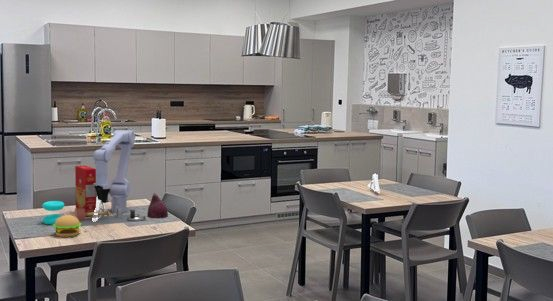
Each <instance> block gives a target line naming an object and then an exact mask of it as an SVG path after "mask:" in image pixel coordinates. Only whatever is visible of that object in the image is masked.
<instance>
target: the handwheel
mask: <svg viewBox="0 0 553 301" xmlns="http://www.w3.org/2000/svg"><path fill="white" fill-rule="evenodd" d="M129 213H130V216H127V220H128V221H137V222H143V221H142V220H145V219H146V215H143V214H139V215H135V214H136V210H135V209H130V210H129Z"/></svg>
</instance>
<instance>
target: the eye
mask: <svg viewBox="0 0 553 301" xmlns="http://www.w3.org/2000/svg"><path fill="white" fill-rule="evenodd" d="M122 215H123V213H122V207H121V206H119V205H117V206H116V213H115V214H114V216H115V217H116V218H117V219H119V218H123V216H122Z"/></svg>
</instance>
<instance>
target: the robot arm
mask: <svg viewBox="0 0 553 301" xmlns="http://www.w3.org/2000/svg"><path fill="white" fill-rule="evenodd" d="M135 140H136V135H135V131H134V130H133V129H132V130H126V129H125V130H123V129H121V130H120V129H115V130H114V132H113V135H112V138H111V139H110V141H106V142H105V143H104V144H103V145H102V146H101V147H100V148H99V149H96V150H95V151H94V153H93V156H92V157H93V161H94V164H95V169H96V183H94V185H96V186H94V188H95V190H96V198H97V200H98V201H101V204H103V203H104V204H105V203H107V201H108V197H109V195H110V196H111V204H110V206H111V208H110V210H111V212H112V213H113V214H116V206H117V205H119V206H121V207H122V214H124V213H127V209H128V208H127V199H128V198H127V197H129V195H130V194H131V182H130V181H129V180H127V174H128V168H129V164H130V158H131V151H132V148H134V146H135ZM116 147H118V148H120V153H119V159H118V164H117V165H118V166H117V171H116V176H115V178H112V180H111V181H110V185H109V161H110V160H111V158H112V154H113V153H114V152H115V150H116ZM108 186H109V187H108Z"/></svg>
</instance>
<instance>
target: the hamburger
mask: <svg viewBox="0 0 553 301" xmlns="http://www.w3.org/2000/svg"><path fill="white" fill-rule="evenodd" d="M80 225H81V223H79V220H78V219H77V218H76V217H75V215H71V214H65V215H62V216H61V217H59V218H58V219H57V220H56V222H55V224H53V225H52V227H54V229H55V233H54V234H55V236H57V237H61V238H71V237H76V236H78V234H79V233H80V227H81V226H80Z"/></svg>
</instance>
